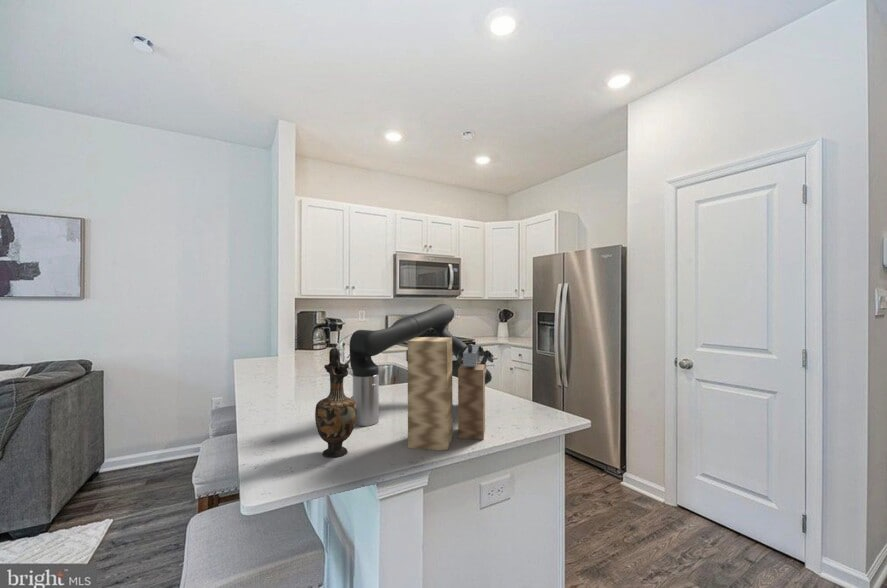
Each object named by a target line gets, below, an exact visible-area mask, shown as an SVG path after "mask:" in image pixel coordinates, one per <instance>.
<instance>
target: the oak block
mask: <svg viewBox="0 0 887 588" xmlns="http://www.w3.org/2000/svg"><path fill="white" fill-rule="evenodd" d="M453 422H454V421H453V352H452V338H441V337H439V336H438V337H437V336H436V337H428V336H426V337H425V336H424V337H423V336H422V337H420V336H418V337H415V338H413V339H411V340H408V341H407V448H408V449H418V450H419V449H420V450H437V451H448V450H449V447H450V445H451V442H452V440H453V434H454V433H453Z"/></svg>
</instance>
